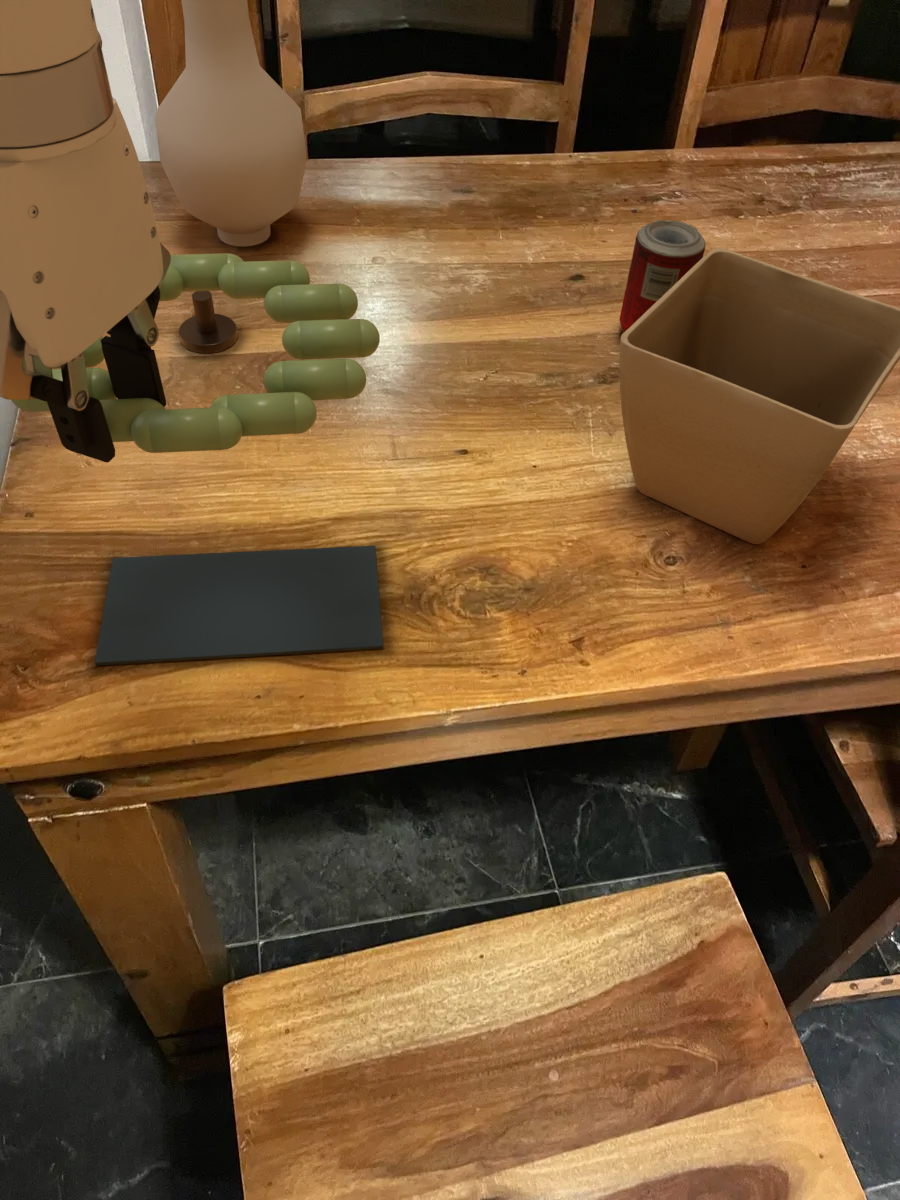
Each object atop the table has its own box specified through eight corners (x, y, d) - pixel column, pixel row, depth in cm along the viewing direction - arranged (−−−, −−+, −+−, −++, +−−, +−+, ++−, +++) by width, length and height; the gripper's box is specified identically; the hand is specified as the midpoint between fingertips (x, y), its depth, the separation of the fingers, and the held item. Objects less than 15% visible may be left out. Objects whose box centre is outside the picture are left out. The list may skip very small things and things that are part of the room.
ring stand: (178, 354, 98) (169, 311, 94) (182, 321, 102) (174, 280, 98) (236, 352, 98) (229, 310, 95) (238, 320, 102) (232, 279, 98)
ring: (-24, 470, 52) (-39, 436, 50) (33, 283, 64) (23, 251, 63) (392, 450, 55) (392, 417, 53) (369, 274, 67) (369, 243, 65)
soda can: (682, 357, 101) (711, 251, 92) (617, 352, 101) (639, 246, 92) (677, 321, 106) (704, 217, 97) (615, 316, 106) (636, 212, 97)
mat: (95, 665, 71) (94, 662, 71) (113, 561, 78) (112, 557, 78) (383, 649, 74) (383, 645, 73) (375, 548, 81) (375, 545, 80)
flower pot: (583, 494, 86) (615, 337, 74) (674, 395, 97) (715, 242, 84) (777, 587, 80) (849, 432, 67) (851, 470, 90) (926, 316, 77)
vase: (332, 253, 112) (317, -15, 91) (198, 280, 107) (149, 3, 86) (285, 191, 122) (261, -64, 101) (160, 213, 117) (107, -51, 95)
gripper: (68, 13, 46) (145, 335, 60) (-210, 148, 36) (-39, 500, 49) (201, 41, 44) (248, 365, 58) (-50, 191, 34) (80, 542, 48)
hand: (115, 424), depth 54 cm, fingers closed on ring, 4 cm apart
